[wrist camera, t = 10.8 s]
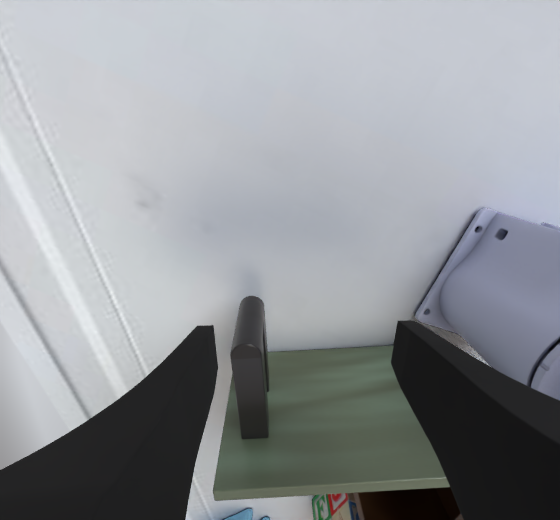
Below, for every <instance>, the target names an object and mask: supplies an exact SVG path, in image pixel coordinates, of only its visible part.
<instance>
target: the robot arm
mask: <svg viewBox="0 0 560 520" xmlns="http://www.w3.org/2000/svg"><path fill="white" fill-rule="evenodd" d="M477 226H479V228H478V230H477V231H475V228H476V227H477ZM426 309H428V310H427V311H426V312H424V311H425V310H426ZM415 317H416V319H417V320H418V321H419V322H422V323H425V324H428V325H431V326H435V327H438V328H441V329H444V330H447V331H451V332H454V333H457V334H460V335H461V336H462V337H463V338H464V339H465V340H466V341H467V342H468V344H469V345H470V346H471V347H472V348H473V349H474V350H475V351H476V352H477V353H478V354H479V355H480V356H481V357H482V358H483V359H484V360H485V361H486V362H487V363H488V364H489V365H490V366H491V367H490V366H488V365H486V364H484V363H483V362H481V361H479V360H477V359H476V358H474V357H472V356H471V355H469V354H467V353H466V352H464V351H462V350H461V349H459V348H457V347H456V346H454V345H453V344H451V343H449V342H448V341H446V340H445V339H443V338H442V337H440V336H438V335H437V334H435V333H434V332H432V331H430V330H429V329H427V328H426V327H424V326H422V325H421V324H419V323H417V322H415V321H398V323H397V329H396V335H395V341H394V346H393V352H392V358H391V365H392V367H393V370H394V373H395V376H396V378H397V381H398V383H399V386H400V388H401V390H402V392H403V394H404V395H405V397H406V399H407V401H408V403H409V405H410V407H411V409H412V410H413V412H414V414H415V416H416V418H417V420H418V421H419V423H420V425H421V427H422V429H423V431H424V432H425V434H426V436H427V438H428V440H429V442H430V443H431V445H432V447H433V449H434V451H435V453H436V455H437V457H438V460H439V462H440V464H441V467H442V469H443V471H444V474H445V476H446V478H447V481H448V483H449V485H450V488H451V490H452V492H453V495H454V497H455V500H456V502H457V505H458V507H459V510H460V512H461V515H462V517H463V520H560V227H557V226H554V225H551V224H548V223H544V222H543V223H541V225H539V224H535V223H532V222H529V221H526V220H522V219H519V218H516V217H513V216H509V215H506V214H503V213H500V212H497V211H494V210H492V209H489V208H482V209H481V210H479V211H478V212H477V214H476V216H475V217H474V219H473V221H472V222H471V224H470V226H469V227H468V229H467V230H466V232H465V234H464V235H463V237H462V239H461V240H460V242H459V244H458V245H457V247H456V248H455V250H454V252H453V253H452V255H451V257H450V258H449V260H448V262H447V263H446V265H445V267H444V268H443V270H442V271H441V273H440V275H439V276H438V278H437V280H436V281H435V283H434V285H433V286H432V288H431V289H430V291H429V293H428V294H427V296H426V298H425V299H424V301H423V303H422V304H421V306H420V308H419V309H418V311H417V312H416V315H415ZM217 370H218V364H217V355H216V345H215V336H214V327H213V325H211V326H197V327H196V328H195V329H194V330H193V331H192V332H191V333H190V334H189V335H188V336H187V337H186V338H185V339H184V340H183V341H182V343H181V344H180V345H179V346H178V347H177V348H176V349H175V350H174V351H173V352H172V353H171V354H170V355H169V356H168V357H167V358H166V359H165V360H164V361H163V362H162V363H161V364H160V365H159V366H158V367H157V368H155V369H154V370H153V371H152V372H151V373H150V374H149V375H148V376H147V377H146V378H144V379H143V380H142V381H141V382H140V383H139V384H137V385H136V386H135V387H134V388H132V389H131V390H130V391H129V392H127V393H126V394H125V395H123V396H122V397H121V398H120V399H118V400H117V401H115V402H114V403H113V404H111V405H110V406H108V407H107V408H105V409H104V410H102V411H101V412H100V413H98V414H97V415H95V416H94V417H92V418H91V419H89V420H88V421H86V422H85V423H83V424H82V425H80V426H79V427H77V428H75V429H74V430H72V431H70V432H69V433H67V434H66V435H64V436H62V437H61V438H59V439H57V440H55V441H54V442H52V443H50V444H48V445H47V446H45V447H43V448H42V449H40V450H38V451H36V452H34V453H32V454H31V455H29V456H27V457H25V458H23V459H21V460H19V461H17V462H15V463H13V464H12V465H9V466H7V467H6V468H4V469H2V470H0V520H185V517H186V511H187V505H188V499H189V494H190V488H191V483H192V477H193V472H194V466H195V462H196V458H197V454H198V450H199V446H200V443H201V439H202V435H203V432H204V428H205V425H206V421H207V417H208V414H209V410H210V406H211V403H212V399H213V395H214V390H215V384H216V377H217Z"/></svg>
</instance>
